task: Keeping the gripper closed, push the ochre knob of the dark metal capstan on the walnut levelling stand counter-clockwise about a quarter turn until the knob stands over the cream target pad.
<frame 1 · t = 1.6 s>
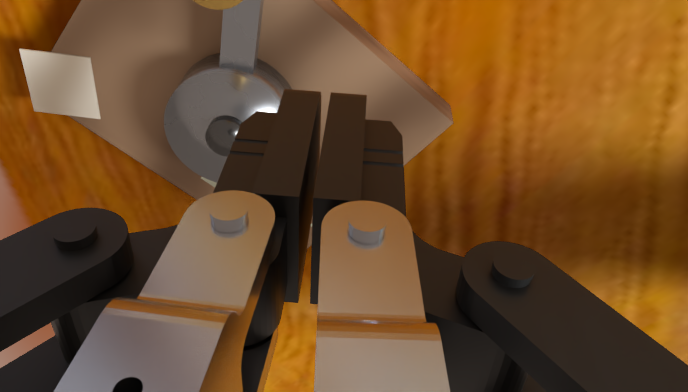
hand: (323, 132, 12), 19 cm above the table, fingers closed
stand: (247, 89, 32), on the table
capstan: (223, 118, 26), point 6 cm above the table, hinge at -60.0°
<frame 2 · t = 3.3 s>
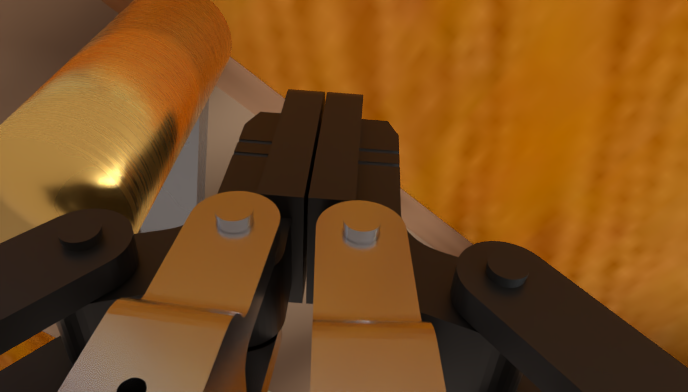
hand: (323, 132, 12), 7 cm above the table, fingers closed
stand: (200, 236, 23), on the table
capstan: (146, 336, 17), point 6 cm above the table, hinge at -59.3°, touching gripper
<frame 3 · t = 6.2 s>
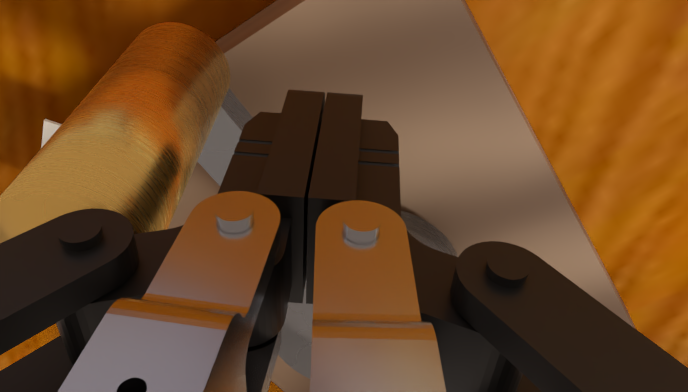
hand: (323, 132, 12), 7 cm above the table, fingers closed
stand: (368, 233, 22), on the table
capstan: (336, 339, 16), point 6 cm above the table, hinge at -1.0°, touching gripper
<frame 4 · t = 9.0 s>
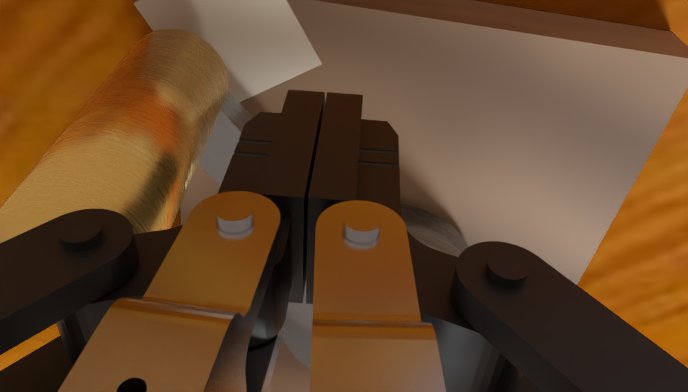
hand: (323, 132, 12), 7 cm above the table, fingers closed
stand: (380, 229, 22), on the table
capstan: (348, 338, 16), point 6 cm above the table, hinge at 43.4°, touching gripper
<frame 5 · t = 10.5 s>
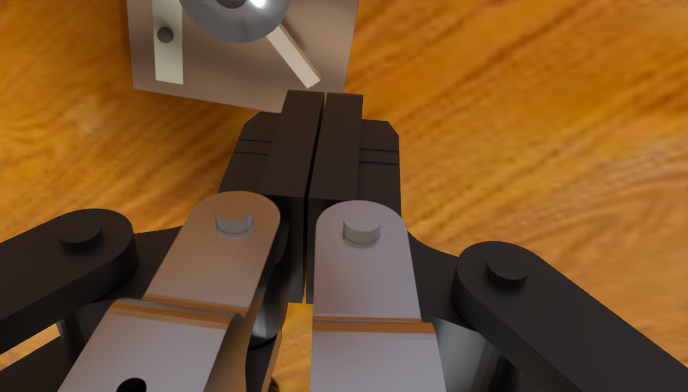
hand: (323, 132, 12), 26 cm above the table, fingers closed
beverage can: (254, 389, 63), on the table
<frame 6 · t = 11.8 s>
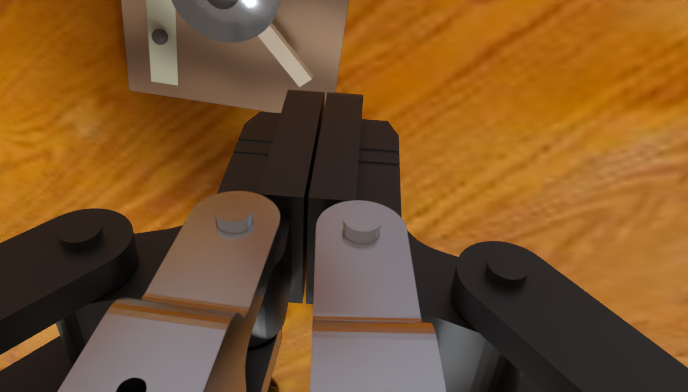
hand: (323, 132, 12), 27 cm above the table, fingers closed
beverage can: (254, 389, 63), on the table
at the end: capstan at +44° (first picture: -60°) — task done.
